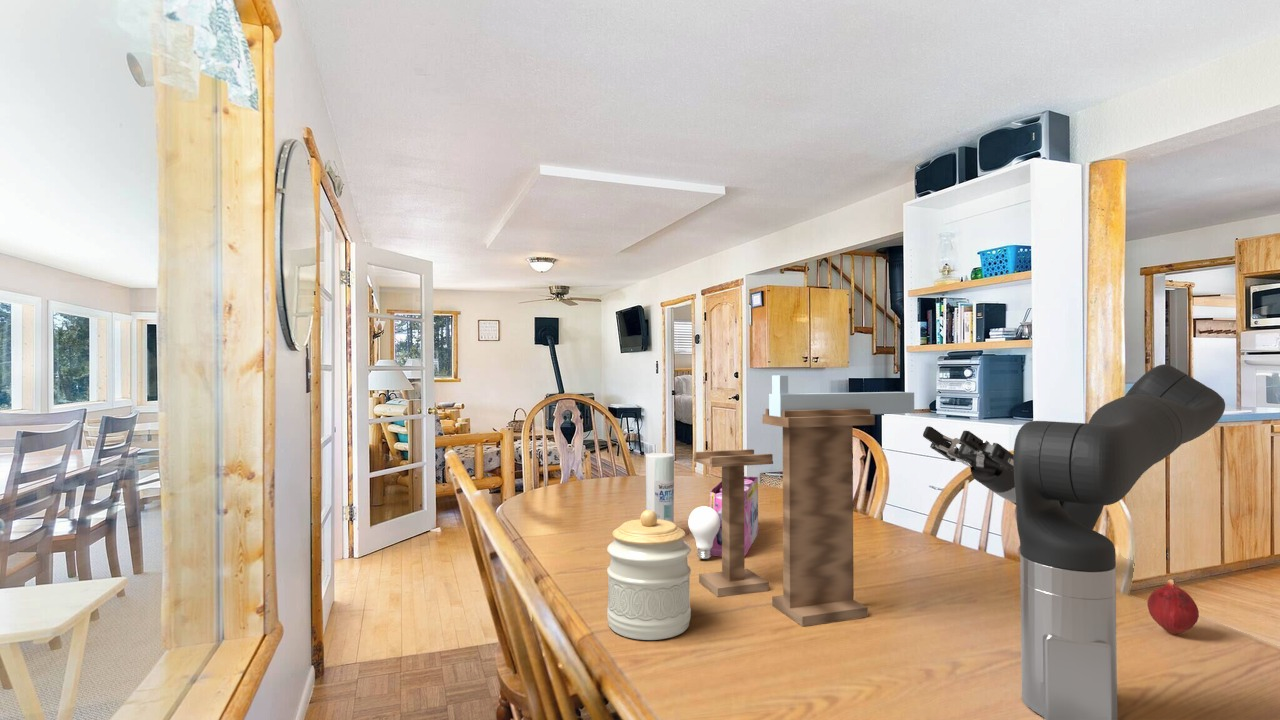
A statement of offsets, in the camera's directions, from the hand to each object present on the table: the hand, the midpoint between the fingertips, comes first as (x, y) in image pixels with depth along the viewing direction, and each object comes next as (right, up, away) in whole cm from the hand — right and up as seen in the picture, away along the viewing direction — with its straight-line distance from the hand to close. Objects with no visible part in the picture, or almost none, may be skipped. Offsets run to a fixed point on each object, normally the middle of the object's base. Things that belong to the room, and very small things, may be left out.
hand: (943, 433), depth 111 cm
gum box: (-32, -29, +32) cm, 54 cm away
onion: (+26, -28, -18) cm, 42 cm away
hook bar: (-20, +4, -6) cm, 21 cm away
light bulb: (-40, -29, +19) cm, 53 cm away
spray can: (-49, -29, +32) cm, 66 cm away
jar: (-52, -28, -14) cm, 61 cm away
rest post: (-37, -28, +3) cm, 46 cm away
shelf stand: (-25, -28, -9) cm, 38 cm away
